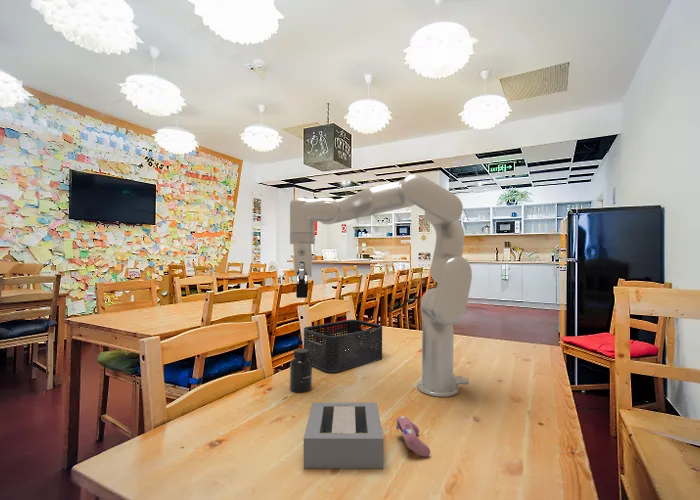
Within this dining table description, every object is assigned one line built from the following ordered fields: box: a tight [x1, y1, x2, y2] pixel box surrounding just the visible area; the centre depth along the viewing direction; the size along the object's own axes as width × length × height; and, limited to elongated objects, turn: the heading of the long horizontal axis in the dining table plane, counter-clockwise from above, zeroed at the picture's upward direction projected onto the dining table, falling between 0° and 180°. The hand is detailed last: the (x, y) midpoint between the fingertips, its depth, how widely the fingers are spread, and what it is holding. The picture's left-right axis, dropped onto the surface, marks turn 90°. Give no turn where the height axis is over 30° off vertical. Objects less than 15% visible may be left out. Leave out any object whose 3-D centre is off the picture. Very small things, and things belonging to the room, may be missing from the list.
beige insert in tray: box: [331, 406, 357, 434], centre depth 77 cm, size 5×13×2 cm, turn 0°
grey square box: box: [303, 401, 384, 469], centre depth 77 cm, size 16×16×6 cm
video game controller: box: [395, 415, 431, 458], centre depth 77 cm, size 10×5×7 cm, turn 5°
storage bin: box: [303, 319, 383, 373], centre depth 136 cm, size 29×19×13 cm
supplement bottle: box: [289, 348, 313, 393], centre depth 108 cm, size 7×7×12 cm
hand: (302, 295), depth 105 cm, fingers open, 9 cm apart
